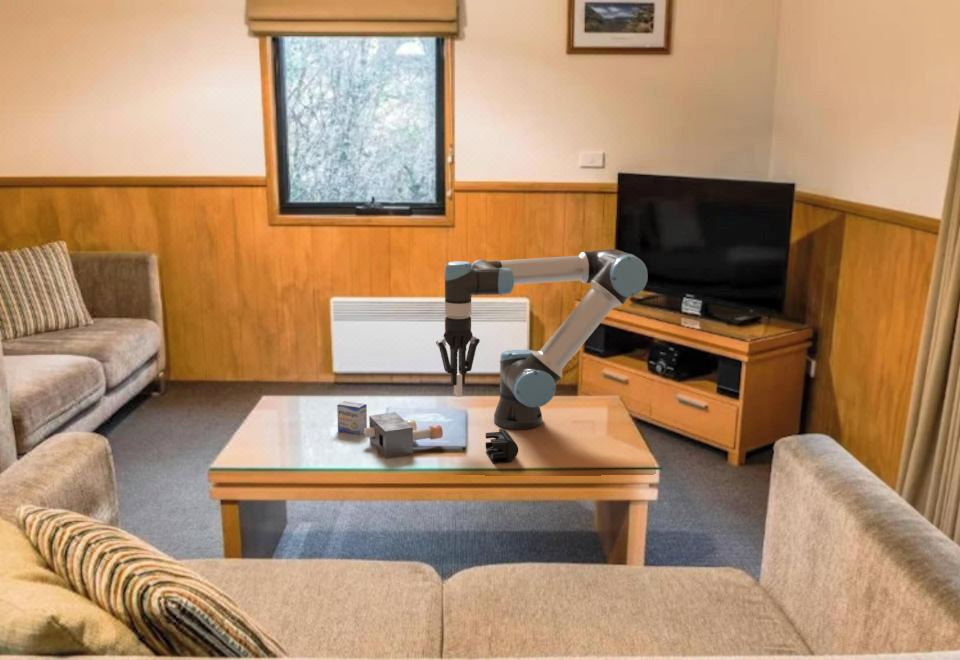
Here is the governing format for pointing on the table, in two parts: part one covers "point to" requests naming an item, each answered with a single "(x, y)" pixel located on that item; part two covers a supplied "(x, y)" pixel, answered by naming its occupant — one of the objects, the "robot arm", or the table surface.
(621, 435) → the table surface
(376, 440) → the grey peg holder block
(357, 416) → the medicine box
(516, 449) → the end cap
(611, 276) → the robot arm
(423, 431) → the knob
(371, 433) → the knob
